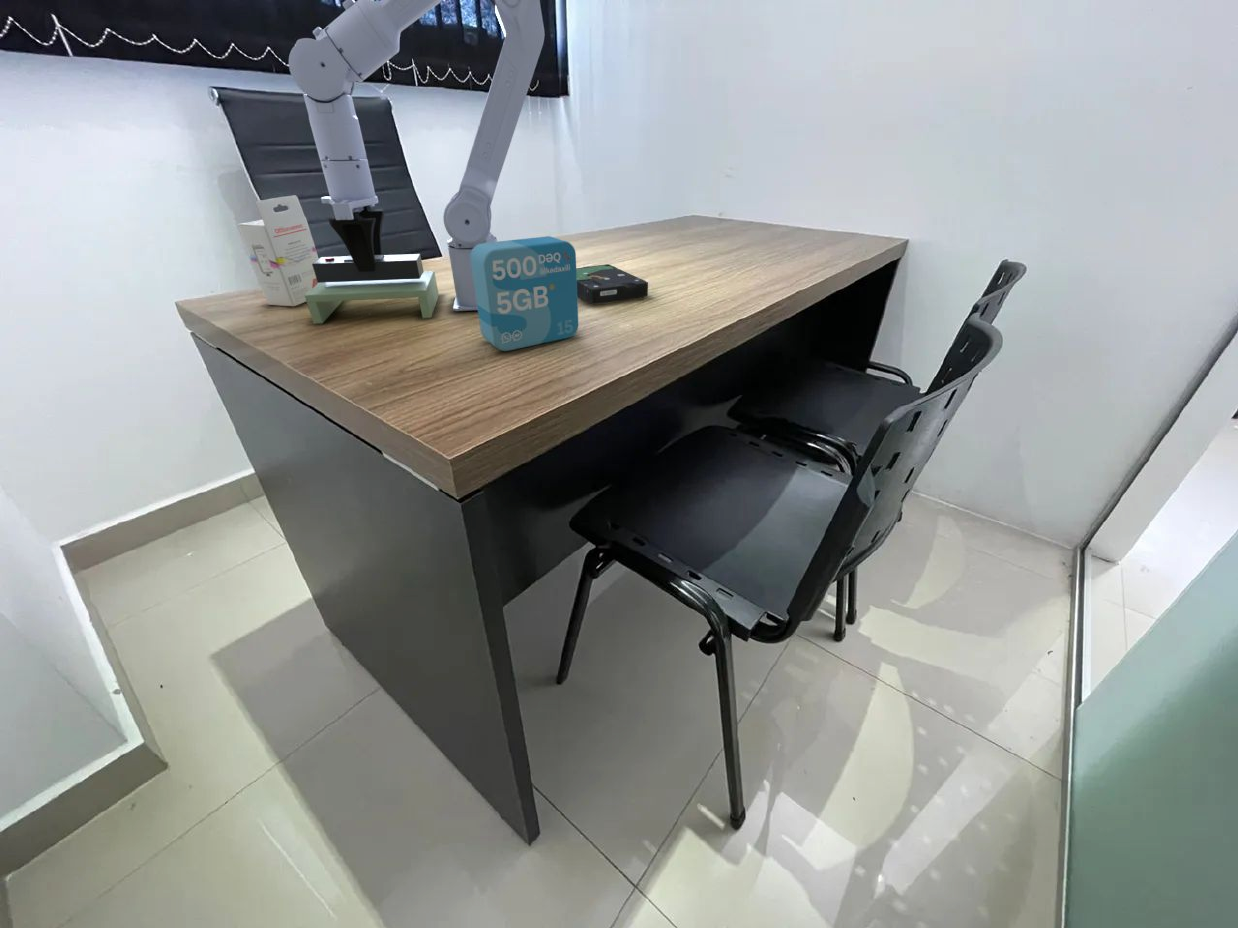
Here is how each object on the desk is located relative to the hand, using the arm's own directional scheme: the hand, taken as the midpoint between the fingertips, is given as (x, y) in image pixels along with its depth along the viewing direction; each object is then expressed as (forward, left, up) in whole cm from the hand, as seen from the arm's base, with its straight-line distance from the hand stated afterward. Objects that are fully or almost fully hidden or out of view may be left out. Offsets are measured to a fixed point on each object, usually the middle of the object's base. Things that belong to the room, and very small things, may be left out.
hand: (370, 267), depth 75 cm
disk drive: (-35, -4, -6) cm, 36 cm away
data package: (-22, +18, -6) cm, 29 cm away
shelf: (0, 0, -6) cm, 6 cm away
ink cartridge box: (+14, -8, -6) cm, 17 cm away
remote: (0, 0, -1) cm, 1 cm away
